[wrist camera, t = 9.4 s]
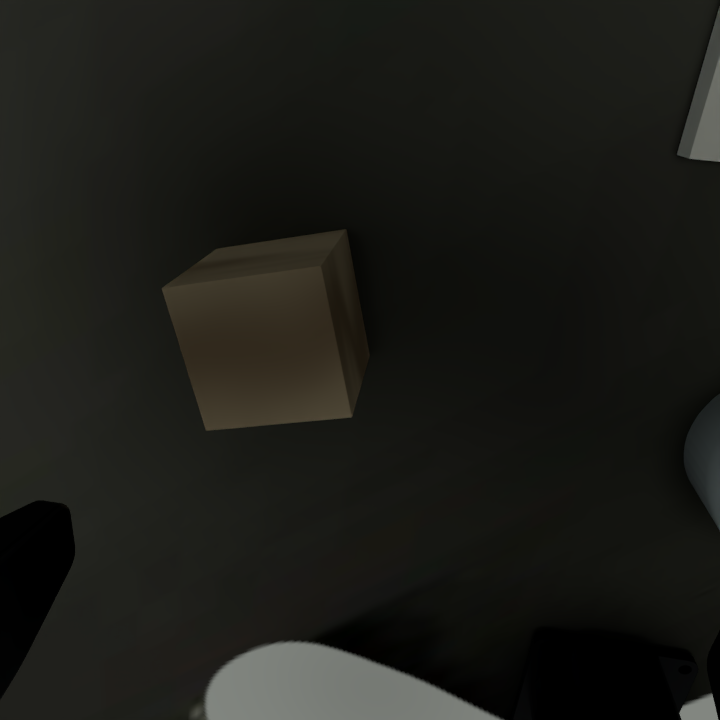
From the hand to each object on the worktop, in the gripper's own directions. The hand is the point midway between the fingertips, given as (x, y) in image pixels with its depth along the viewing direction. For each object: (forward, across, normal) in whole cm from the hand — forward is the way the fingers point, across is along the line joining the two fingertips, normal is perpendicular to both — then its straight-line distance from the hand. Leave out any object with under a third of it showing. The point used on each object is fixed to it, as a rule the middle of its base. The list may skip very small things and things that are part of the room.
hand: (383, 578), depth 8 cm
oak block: (+13, +4, +1) cm, 14 cm away
